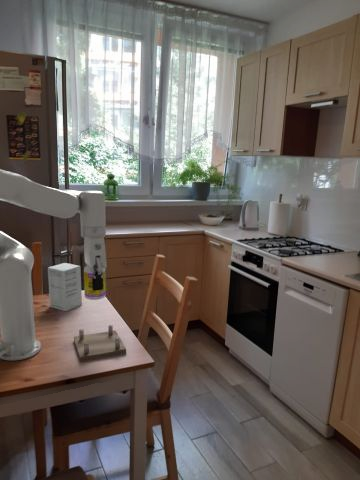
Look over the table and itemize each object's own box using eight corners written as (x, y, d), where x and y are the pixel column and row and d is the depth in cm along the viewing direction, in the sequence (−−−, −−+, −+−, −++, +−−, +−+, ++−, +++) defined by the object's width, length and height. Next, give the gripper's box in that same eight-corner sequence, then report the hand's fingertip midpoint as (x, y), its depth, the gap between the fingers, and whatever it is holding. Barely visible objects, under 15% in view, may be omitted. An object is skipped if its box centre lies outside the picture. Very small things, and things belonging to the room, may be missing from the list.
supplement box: (82, 304, 153) (81, 265, 150) (65, 312, 146) (64, 271, 142) (66, 300, 158) (64, 262, 155) (48, 306, 150) (47, 267, 147)
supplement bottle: (85, 301, 114) (84, 261, 111) (83, 294, 120) (82, 256, 118) (107, 299, 116) (106, 260, 114) (104, 292, 122) (103, 254, 120)
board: (126, 353, 115) (126, 340, 114) (80, 361, 110) (80, 347, 109) (115, 334, 128) (115, 322, 127) (73, 341, 122) (73, 328, 121)
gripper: (113, 235, 108) (114, 293, 111) (98, 226, 123) (99, 277, 127) (87, 237, 105) (89, 297, 108) (75, 227, 120) (77, 280, 123)
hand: (95, 285), depth 117 cm, fingers closed on supplement bottle, 6 cm apart
